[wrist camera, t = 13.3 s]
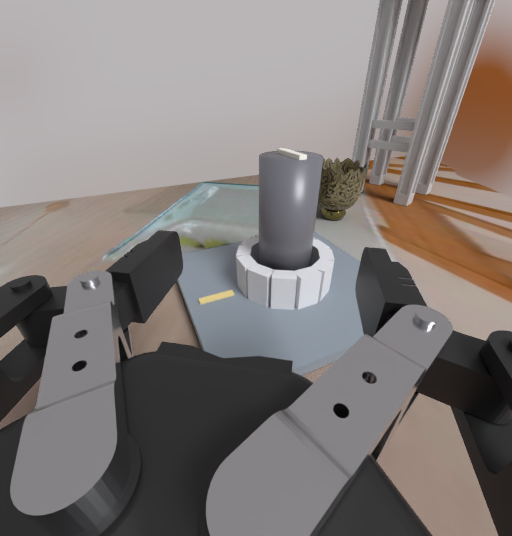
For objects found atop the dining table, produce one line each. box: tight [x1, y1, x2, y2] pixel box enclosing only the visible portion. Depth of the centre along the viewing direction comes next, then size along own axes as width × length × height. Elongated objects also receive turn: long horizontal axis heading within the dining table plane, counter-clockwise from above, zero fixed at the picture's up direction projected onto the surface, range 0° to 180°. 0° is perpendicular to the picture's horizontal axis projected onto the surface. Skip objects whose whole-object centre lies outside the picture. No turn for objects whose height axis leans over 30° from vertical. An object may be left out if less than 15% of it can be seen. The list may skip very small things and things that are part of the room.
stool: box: [352, 0, 495, 206], centre depth 44 cm, size 16×16×35 cm
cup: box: [318, 158, 369, 220], centre depth 40 cm, size 7×7×8 cm
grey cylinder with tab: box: [259, 148, 323, 271], centre depth 23 cm, size 5×5×11 cm
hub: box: [177, 232, 430, 376], centre depth 25 cm, size 18×18×4 cm
